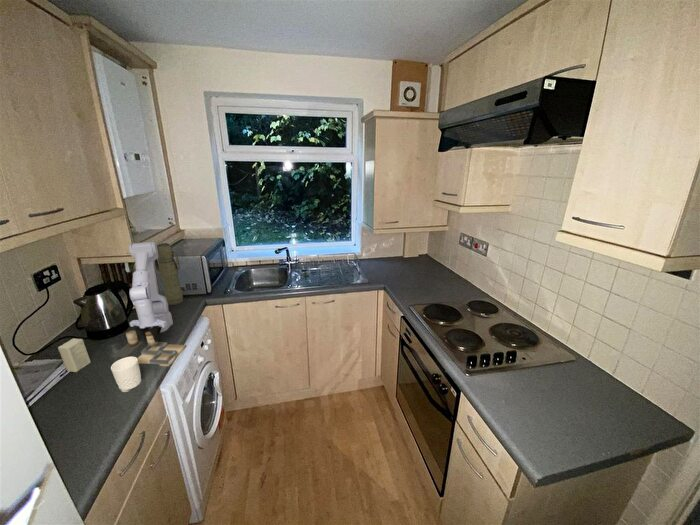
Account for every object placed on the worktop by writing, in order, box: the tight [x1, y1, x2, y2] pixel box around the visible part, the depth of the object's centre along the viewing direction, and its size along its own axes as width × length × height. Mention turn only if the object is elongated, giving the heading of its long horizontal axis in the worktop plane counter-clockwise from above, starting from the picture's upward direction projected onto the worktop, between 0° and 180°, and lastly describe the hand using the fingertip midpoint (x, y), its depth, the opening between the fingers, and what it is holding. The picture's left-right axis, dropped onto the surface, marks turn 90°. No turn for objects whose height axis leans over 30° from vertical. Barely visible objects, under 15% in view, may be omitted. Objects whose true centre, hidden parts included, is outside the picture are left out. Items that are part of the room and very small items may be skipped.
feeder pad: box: [111, 340, 144, 358], centre depth 129 cm, size 11×6×1 cm, turn 178°
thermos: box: [154, 242, 184, 306], centre depth 166 cm, size 9×12×35 cm
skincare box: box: [57, 337, 92, 373], centre depth 116 cm, size 6×4×12 cm
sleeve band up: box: [145, 329, 159, 346], centre depth 126 cm, size 4×4×6 cm
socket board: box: [136, 341, 187, 367], centre depth 126 cm, size 13×15×2 cm
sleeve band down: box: [125, 329, 140, 347], centre depth 131 cm, size 4×4×6 cm
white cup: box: [110, 356, 142, 393], centre depth 108 cm, size 8×8×10 cm
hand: (152, 340), depth 127 cm, fingers closed on sleeve band up, 4 cm apart
